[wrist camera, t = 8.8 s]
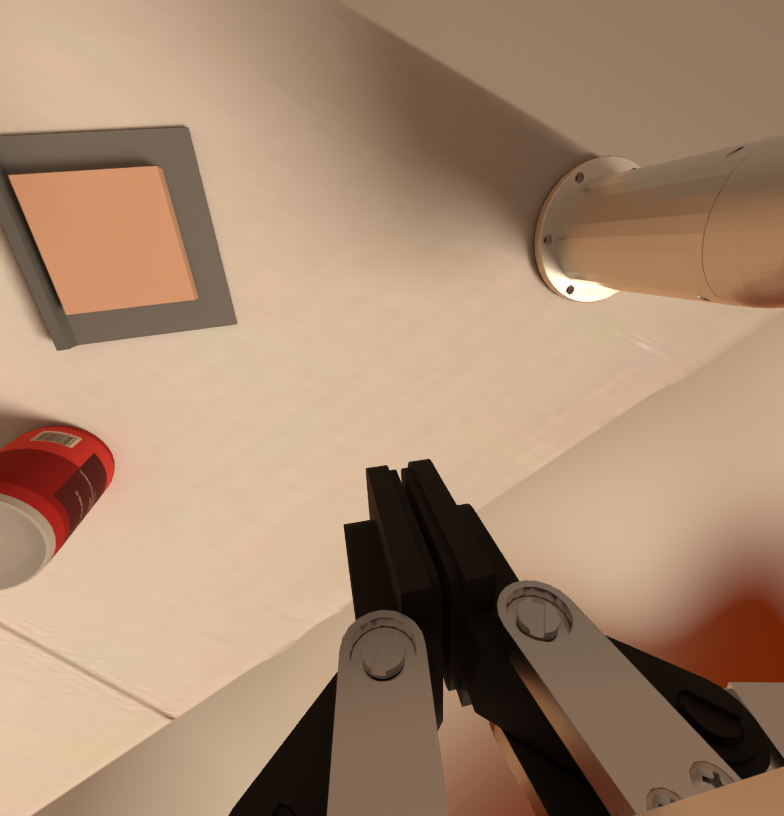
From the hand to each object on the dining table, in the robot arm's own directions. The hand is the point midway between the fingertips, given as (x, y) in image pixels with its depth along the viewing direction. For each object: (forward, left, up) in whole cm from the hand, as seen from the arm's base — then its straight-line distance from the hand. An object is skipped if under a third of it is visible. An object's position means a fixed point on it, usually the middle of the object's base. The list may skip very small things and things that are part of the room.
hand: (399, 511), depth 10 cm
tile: (+10, -8, -27) cm, 29 cm away
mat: (+14, -8, -28) cm, 32 cm away
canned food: (+24, +9, -28) cm, 38 cm away
